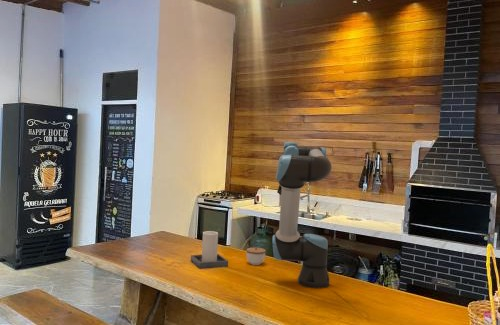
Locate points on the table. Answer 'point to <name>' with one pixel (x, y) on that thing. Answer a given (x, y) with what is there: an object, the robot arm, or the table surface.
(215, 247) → the cup
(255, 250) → the lidded jar
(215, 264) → the square metal tray
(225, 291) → the table surface
